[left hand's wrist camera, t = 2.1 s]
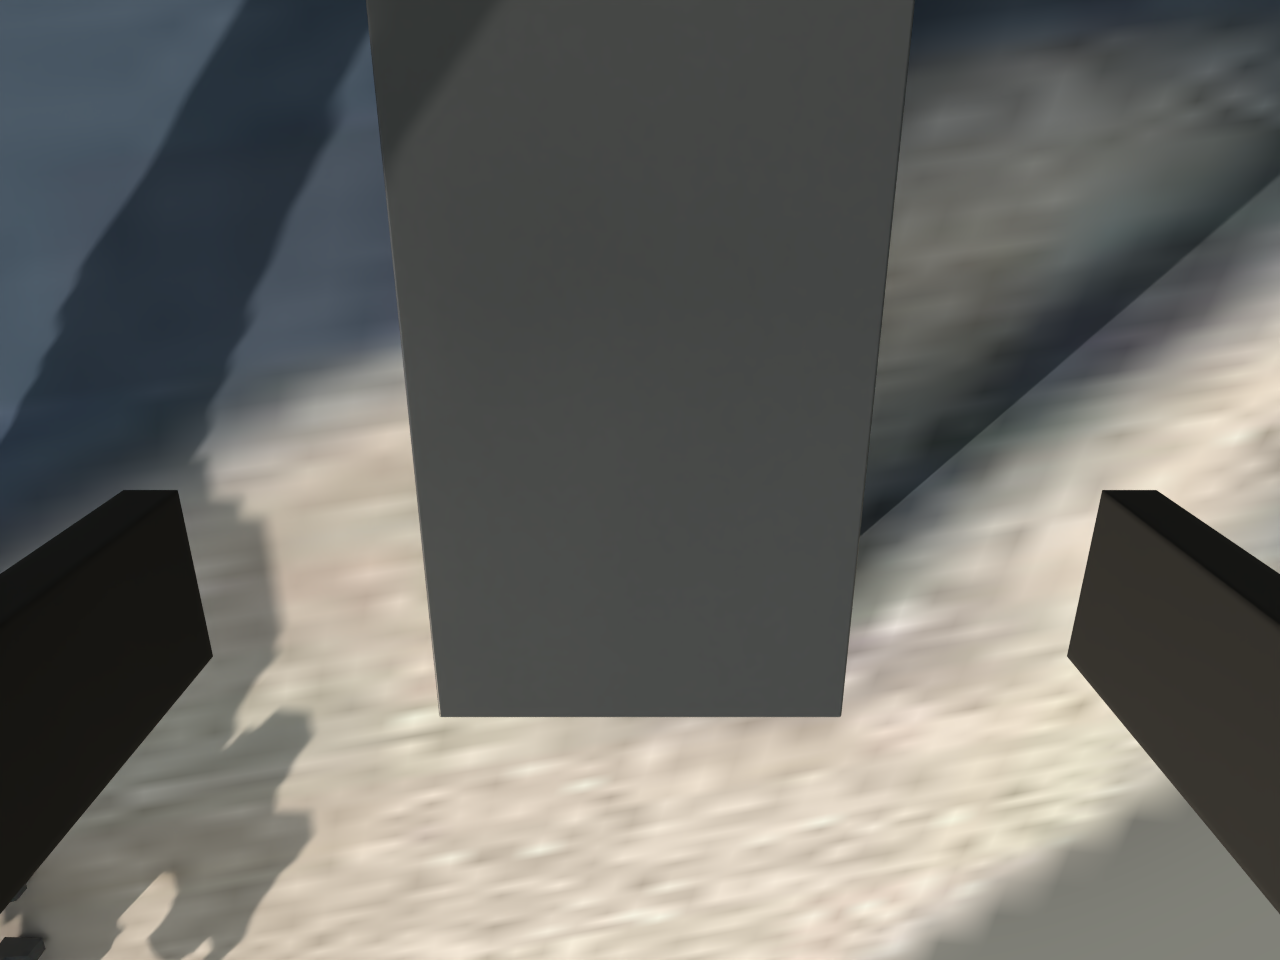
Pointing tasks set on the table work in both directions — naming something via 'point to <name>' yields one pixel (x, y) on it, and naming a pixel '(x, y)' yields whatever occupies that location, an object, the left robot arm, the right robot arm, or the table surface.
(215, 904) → the table surface
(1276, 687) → the left robot arm
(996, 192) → the table surface
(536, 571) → the thick board
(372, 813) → the table surface
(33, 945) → the toy
